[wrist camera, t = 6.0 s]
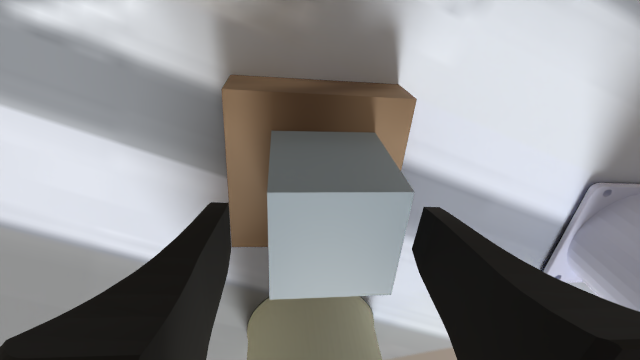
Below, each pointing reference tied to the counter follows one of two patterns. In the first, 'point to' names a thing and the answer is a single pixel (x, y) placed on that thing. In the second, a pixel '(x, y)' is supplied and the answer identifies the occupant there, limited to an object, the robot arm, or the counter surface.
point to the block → (334, 215)
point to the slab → (297, 115)
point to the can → (313, 330)
